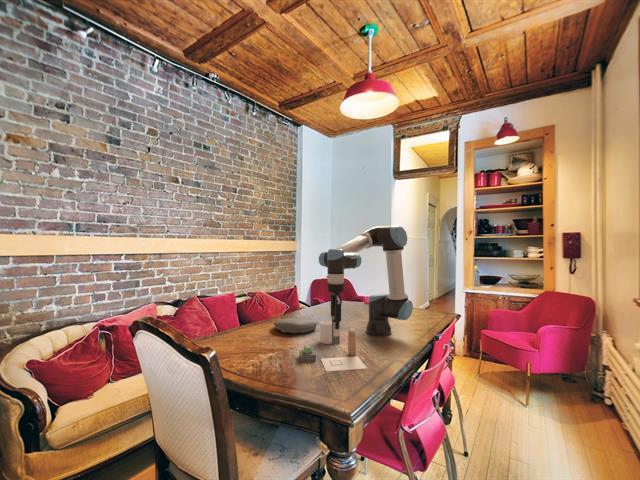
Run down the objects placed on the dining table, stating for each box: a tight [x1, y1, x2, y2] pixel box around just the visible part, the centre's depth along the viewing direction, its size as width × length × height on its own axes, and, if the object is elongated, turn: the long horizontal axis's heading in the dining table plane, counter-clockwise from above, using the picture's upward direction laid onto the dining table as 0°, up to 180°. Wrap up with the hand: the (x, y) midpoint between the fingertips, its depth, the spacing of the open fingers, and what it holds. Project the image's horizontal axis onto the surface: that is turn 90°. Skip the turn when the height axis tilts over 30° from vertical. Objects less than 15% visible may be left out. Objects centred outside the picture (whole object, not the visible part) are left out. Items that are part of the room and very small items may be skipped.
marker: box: [331, 316, 341, 346], centre depth 137 cm, size 4×4×12 cm
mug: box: [319, 320, 333, 345], centre depth 166 cm, size 9×12×11 cm
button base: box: [298, 348, 317, 363], centre depth 143 cm, size 7×7×3 cm
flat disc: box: [273, 317, 319, 335], centre depth 192 cm, size 28×28×4 cm
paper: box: [320, 355, 368, 373], centre depth 136 cm, size 18×14×1 cm
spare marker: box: [347, 328, 357, 357], centre depth 147 cm, size 4×4×12 cm
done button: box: [302, 345, 313, 354], centre depth 143 cm, size 4×4×4 cm
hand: (335, 334), depth 137 cm, fingers closed on marker, 3 cm apart
